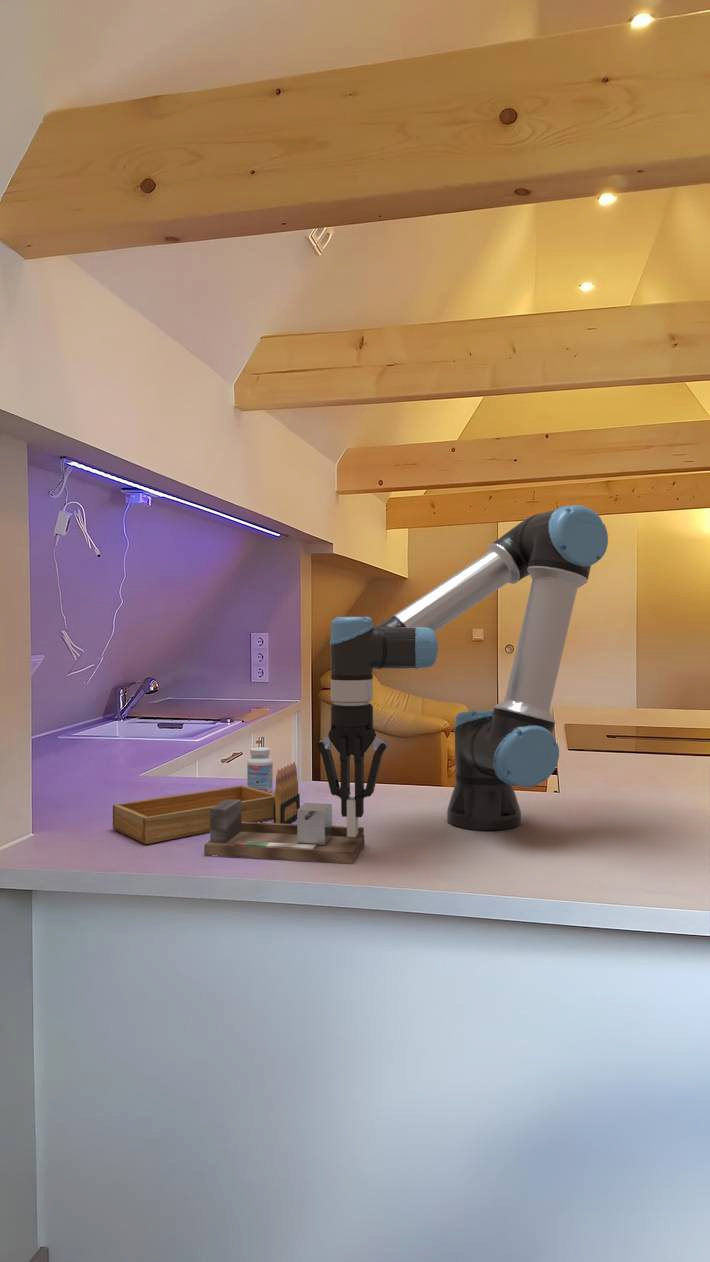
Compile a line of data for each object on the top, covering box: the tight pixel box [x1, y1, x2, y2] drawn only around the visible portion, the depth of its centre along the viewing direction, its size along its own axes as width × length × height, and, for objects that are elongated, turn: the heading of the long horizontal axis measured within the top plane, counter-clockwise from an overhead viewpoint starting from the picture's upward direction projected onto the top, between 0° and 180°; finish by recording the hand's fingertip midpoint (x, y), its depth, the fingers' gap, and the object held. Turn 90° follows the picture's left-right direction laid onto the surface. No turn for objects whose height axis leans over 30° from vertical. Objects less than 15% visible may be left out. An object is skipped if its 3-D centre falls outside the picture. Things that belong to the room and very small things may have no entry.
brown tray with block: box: [203, 799, 366, 865], centre depth 141 cm, size 27×11×8 cm, turn 78°
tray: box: [112, 785, 275, 845], centre depth 161 cm, size 31×15×6 cm, turn 130°
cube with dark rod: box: [296, 802, 333, 845], centre depth 139 cm, size 5×9×6 cm, turn 168°
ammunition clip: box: [273, 761, 301, 824], centre depth 161 cm, size 11×2×12 cm, turn 164°
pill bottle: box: [246, 746, 274, 794], centre depth 187 cm, size 6×6×11 cm
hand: (352, 834), depth 139 cm, fingers closed
